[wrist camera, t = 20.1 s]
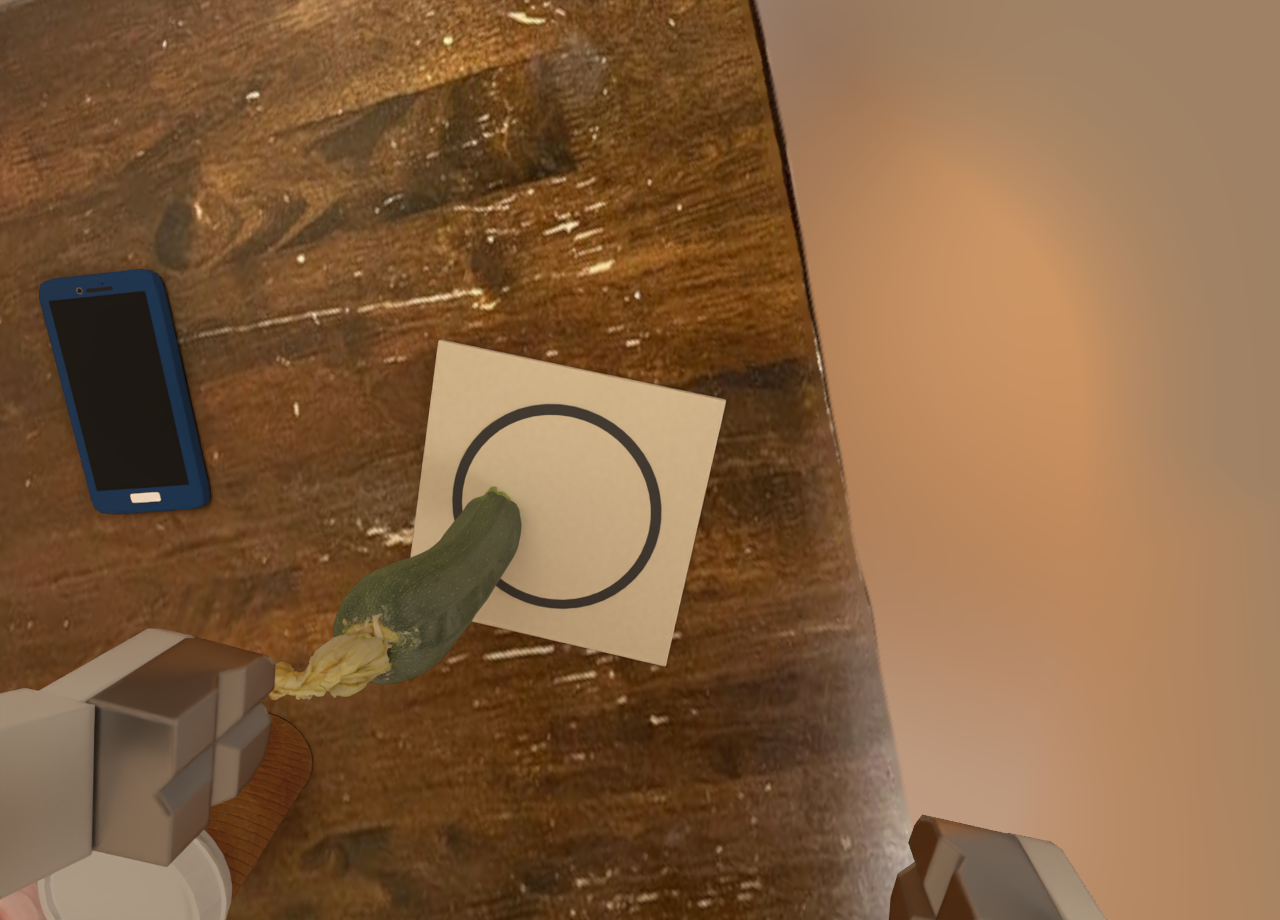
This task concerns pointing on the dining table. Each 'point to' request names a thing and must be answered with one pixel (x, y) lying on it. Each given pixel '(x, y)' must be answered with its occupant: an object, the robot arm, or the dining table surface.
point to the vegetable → (412, 606)
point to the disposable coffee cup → (189, 852)
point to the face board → (572, 492)
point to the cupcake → (22, 905)
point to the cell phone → (125, 391)
